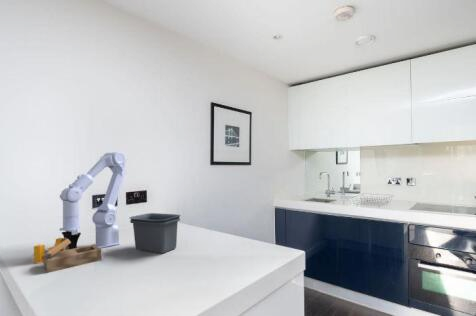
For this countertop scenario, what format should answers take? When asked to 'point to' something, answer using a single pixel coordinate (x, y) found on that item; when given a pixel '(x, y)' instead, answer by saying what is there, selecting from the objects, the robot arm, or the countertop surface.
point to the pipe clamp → (40, 250)
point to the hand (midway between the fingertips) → (71, 249)
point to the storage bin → (155, 231)
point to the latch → (58, 247)
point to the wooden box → (71, 258)
